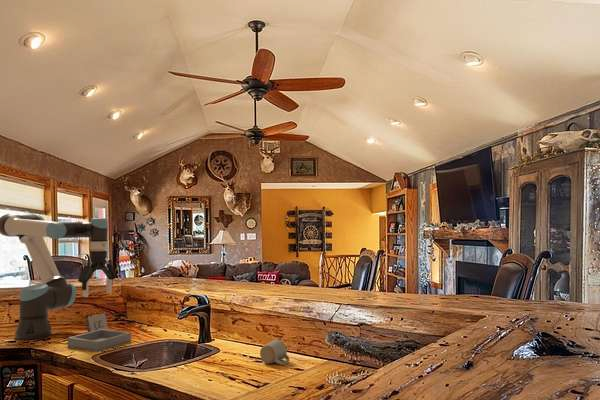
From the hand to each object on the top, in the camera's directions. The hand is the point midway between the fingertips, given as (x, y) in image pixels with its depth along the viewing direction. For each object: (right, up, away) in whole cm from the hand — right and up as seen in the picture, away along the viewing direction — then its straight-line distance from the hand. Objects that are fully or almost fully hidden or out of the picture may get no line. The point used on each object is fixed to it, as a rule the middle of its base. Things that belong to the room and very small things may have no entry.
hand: (97, 294), depth 225 cm
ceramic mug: (+88, -16, -47) cm, 101 cm away
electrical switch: (0, -19, 0) cm, 19 cm away
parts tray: (+9, -18, -19) cm, 28 cm away
